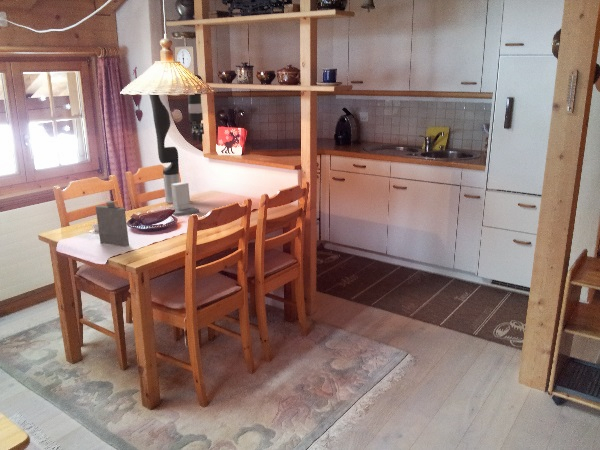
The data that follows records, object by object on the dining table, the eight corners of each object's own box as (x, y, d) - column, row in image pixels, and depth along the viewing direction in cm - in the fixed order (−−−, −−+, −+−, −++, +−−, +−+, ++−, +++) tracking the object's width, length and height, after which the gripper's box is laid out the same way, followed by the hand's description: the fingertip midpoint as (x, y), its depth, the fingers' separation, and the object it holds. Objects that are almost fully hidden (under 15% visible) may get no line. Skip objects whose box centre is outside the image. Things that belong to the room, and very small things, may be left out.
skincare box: (186, 206, 304) (184, 181, 300) (191, 208, 300) (189, 182, 296) (172, 209, 300) (170, 183, 295) (177, 211, 295) (175, 184, 291)
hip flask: (98, 243, 247) (93, 201, 241) (105, 240, 250) (99, 199, 245) (125, 246, 241) (120, 204, 235) (131, 244, 244) (126, 202, 239)
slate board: (165, 210, 303) (165, 207, 303) (188, 206, 310) (188, 204, 310) (175, 216, 290) (175, 213, 290) (199, 212, 297) (199, 209, 297)
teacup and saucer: (110, 230, 267) (109, 223, 266) (96, 235, 261) (95, 227, 260) (99, 228, 272) (98, 220, 271) (85, 232, 266) (84, 224, 264)
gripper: (184, 111, 299) (186, 140, 304) (193, 113, 288) (196, 143, 292) (197, 111, 303) (199, 139, 308) (206, 112, 292) (208, 141, 296)
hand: (197, 141), depth 300 cm, fingers open, 8 cm apart
